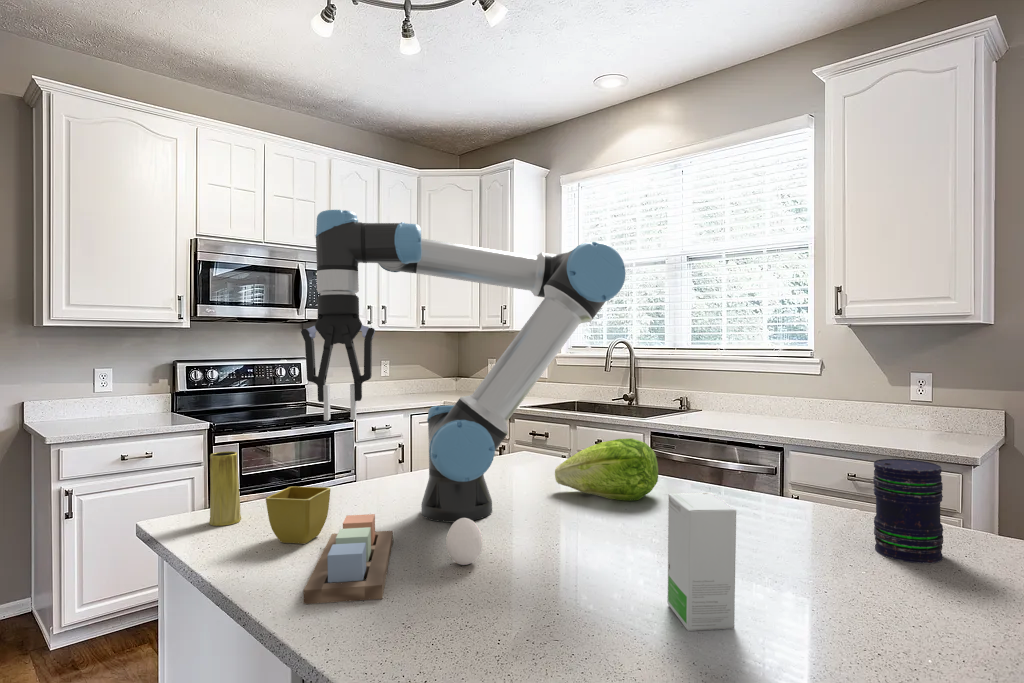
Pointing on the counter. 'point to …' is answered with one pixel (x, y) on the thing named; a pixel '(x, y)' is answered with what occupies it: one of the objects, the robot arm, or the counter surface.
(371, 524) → the key rust
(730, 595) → the skincare box
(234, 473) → the vase
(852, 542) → the counter surface
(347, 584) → the board
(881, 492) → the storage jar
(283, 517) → the flower pot
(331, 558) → the key slate
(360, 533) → the key sage
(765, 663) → the counter surface
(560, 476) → the lettuce
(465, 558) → the egg
